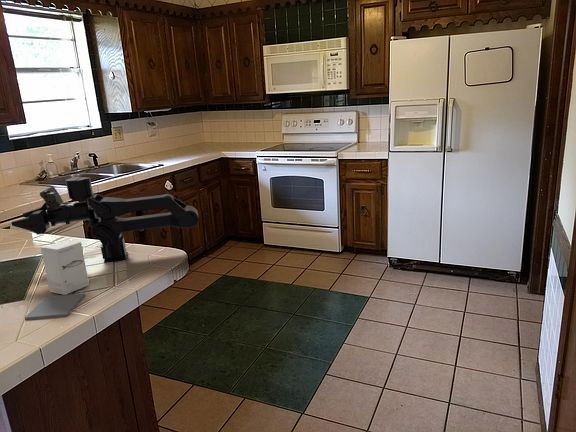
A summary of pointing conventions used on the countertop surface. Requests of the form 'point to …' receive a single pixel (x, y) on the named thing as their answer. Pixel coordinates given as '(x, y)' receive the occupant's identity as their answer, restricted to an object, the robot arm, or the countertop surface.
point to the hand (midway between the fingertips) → (17, 219)
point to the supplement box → (65, 267)
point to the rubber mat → (55, 306)
